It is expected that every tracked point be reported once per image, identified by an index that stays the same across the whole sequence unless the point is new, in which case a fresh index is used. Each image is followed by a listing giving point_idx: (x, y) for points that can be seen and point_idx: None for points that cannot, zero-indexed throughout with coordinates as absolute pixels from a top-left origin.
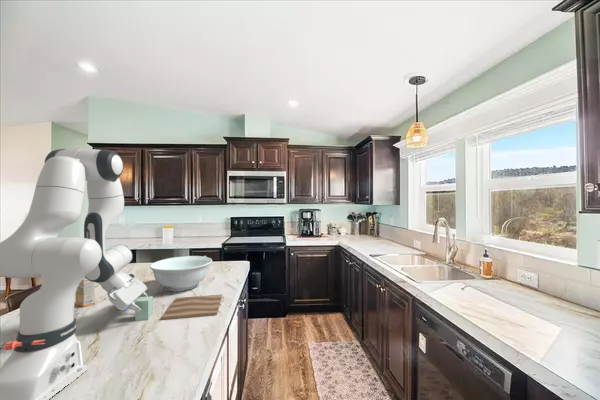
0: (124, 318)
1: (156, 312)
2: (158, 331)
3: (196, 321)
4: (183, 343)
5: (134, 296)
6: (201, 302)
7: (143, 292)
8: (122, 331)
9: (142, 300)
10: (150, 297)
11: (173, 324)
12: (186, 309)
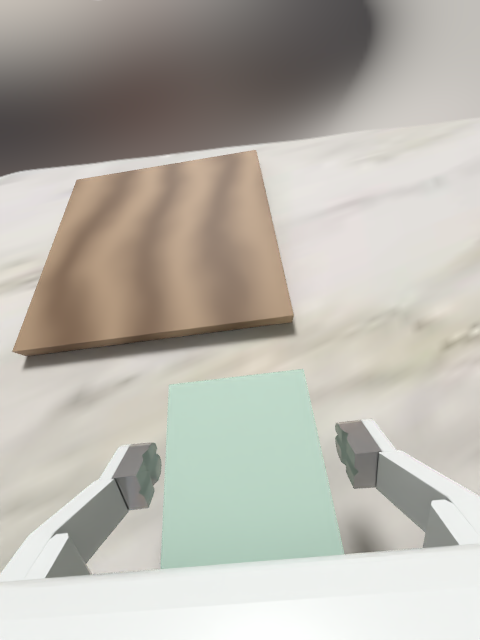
0: None
1: None
2: (412, 283)
3: (306, 194)
4: (474, 176)
5: (399, 623)
6: (141, 216)
7: (29, 584)
8: None
9: (298, 447)
10: (205, 391)
11: (336, 254)
12: (210, 242)
